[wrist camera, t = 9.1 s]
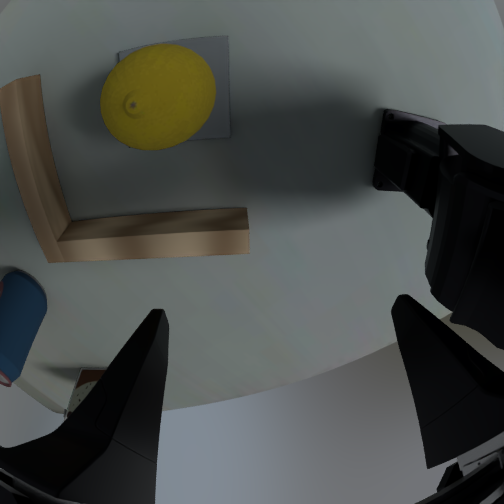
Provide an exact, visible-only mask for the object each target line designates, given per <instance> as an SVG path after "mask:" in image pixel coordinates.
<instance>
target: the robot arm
mask: <svg viewBox="0 0 504 504" xmlns="http://www.w3.org/2000/svg"><path fill="white" fill-rule="evenodd" d="M390 113H391V118H390V119H389V117H388V116H389V114H390ZM374 166H375V172H374V177H373V187H374V188H375V189H377V190H381V191H399V192H404V193H405V194H406V195H408V196H409V197H410V198H411V199H412V200H413V201H414V202H415V203H416V204H417V205H418V206H419V207H420V208H423V209H424V210H425V211H426V212H427V213H428V214H429V215H430V216H431V217H432V218H433V220H432V227H431V232H430V238H429V240H428V242H427V250H428V251H427V256H426V260H425V275H426V277H427V279H428V282H429V285H430V287H431V289H430V292H431V294H432V295H433V296H434V297H435V298H436V300H437V301H438V302H439V303H441V304H442V305H443V306H445V307H446V308H447V309H449V310H450V311H452V312H453V313H452V315H451V317H450V322H451V323H454V324H459V325H465V326H467V327H469V328H472V329H474V330H476V331H478V332H479V333H480V334H482V335H483V336H484V337H486V338H487V339H488V340H489V341H490V342H491V343H492V344H493V345H495V346H496V347H497V348H500V349H503V350H504V132H503V131H500V130H498V129H495V128H493V127H490V126H487V125H472V124H456V125H447V124H445V123H443V122H440V121H437V120H433V119H430V118H426V117H422V116H418V115H414V114H410V113H405V112H401V111H396V110H391V109H387V110H385V111H384V113H383V118H382V126H381V134H380V135H379V138H378V145H377V151H376V158H375V164H374ZM379 182H381V183H380V185H377V184H378V183H379ZM391 315H392V319H393V323H394V327H395V332H396V337H397V341H398V345H399V349H400V352H401V355H402V359H403V362H404V365H405V369H406V372H407V376H408V380H409V383H410V387H411V391H412V395H413V398H414V403H415V407H416V411H417V416H418V420H419V425H420V431H421V436H422V441H423V446H424V452H425V459H426V465H427V469H430V468H432V467H435V466H437V465H440V464H442V463H444V462H447V461H449V460H451V459H453V458H456V457H457V462H456V463H454V464H452V465H450V466H449V467H447V468H446V470H445V473H444V475H443V477H442V479H441V481H440V483H439V486H438V487H437V493H435V494H433V495H431V496H429V497H427V498H425V499H423V500H422V501H419V502H417V503H415V504H504V372H503V371H502V370H500V369H499V368H498V367H496V366H495V365H494V364H492V363H491V362H490V361H489V360H487V359H486V358H485V357H483V356H482V355H481V354H480V353H478V352H477V351H476V350H475V349H474V348H472V347H471V346H470V345H469V344H468V343H466V341H464V340H463V339H462V338H461V337H460V336H459V335H457V334H456V333H455V332H454V331H453V330H451V329H450V328H449V327H448V326H447V325H445V324H444V323H443V322H442V321H441V320H440V319H438V318H437V317H436V316H435V315H433V314H432V313H431V312H430V311H428V310H427V309H426V308H425V307H423V306H422V305H421V304H420V303H418V302H417V301H416V300H415V299H413V298H412V297H411V296H409V295H408V294H402V295H399V296H398V297H397V299H396V301H395V303H394V305H393V307H392V309H391ZM168 343H169V323H168V320H167V317H166V314H165V311H164V310H163V309H152V310H151V311H150V313H149V314H148V315H147V317H146V318H145V319H144V320H143V322H142V323H141V324H140V325H139V327H138V328H137V329H136V331H135V332H134V333H133V335H132V336H131V337H130V338H129V340H128V341H127V342H126V344H125V345H124V346H123V348H122V349H121V350H120V352H119V353H118V354H117V356H116V357H115V358H114V360H113V361H112V362H111V364H110V365H109V366H108V368H107V369H106V370H105V372H104V373H103V374H102V376H101V378H100V379H99V380H98V381H97V383H96V384H95V385H94V387H93V388H92V389H91V391H90V392H89V393H88V395H87V396H86V397H85V398H84V399H83V400H82V402H81V403H80V404H79V405H78V406H77V407H76V409H75V410H74V411H73V412H72V413H71V414H70V415H69V416H68V418H67V419H66V420H65V421H64V422H63V423H62V424H61V426H59V427H58V429H56V430H55V431H54V432H52V433H50V434H48V435H46V436H43V437H40V438H38V439H35V440H32V441H29V442H26V443H24V444H21V445H18V446H15V447H11V448H4V447H2V446H0V468H2V469H3V470H2V469H0V504H155V489H156V488H155V487H156V470H157V455H158V442H159V433H160V423H161V414H162V405H163V397H164V390H165V382H166V375H167V367H168ZM4 470H5V471H4Z"/></svg>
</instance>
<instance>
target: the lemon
mask: <svg viewBox="0 0 504 504" xmlns="http://www.w3.org/2000/svg"><path fill="white" fill-rule="evenodd" d="M215 97H216V85H215V78H214V76H213V73H212V71H211V68H210V67H209V65H208V64H207V63H206V62H205V60H204V59H203V58H202V57H201V56H199V55H198V54H197V53H195V52H194V51H192V50H191V49H188V48H185V47H183V46H180V45H176V44H156V45H151V46H146V47H143V48H141V49H139V50H137V51H134V52H132V53H130V54H129V55H128V56H126V57H125V58H124V59H122V60H121V61H120V62H119V63H118V64H117V65H116V66H115V67H114V68H113V70H112V71H111V72H110V74H109V75H108V77H107V79H106V81H105V84H104V86H103V88H102V93H101V99H100V106H101V114H102V117H103V120H104V123H105V125H106V127H107V128H108V130H109V131H110V133H111V134H112V135H113V136H114V137H115V138H116V139H118V140H119V141H120V142H122V143H124V144H126V145H128V146H129V147H132V148H136V149H140V150H161V149H165V148H169V147H173V146H175V145H177V144H179V143H182V142H184V141H186V140H187V139H189V138H190V137H191V136H193V135H194V134H195V133H196V132H197V131H199V130H200V128H201V127H202V126H203V125H204V123H205V122H206V121H207V119H208V118H209V116H210V113H211V111H212V109H213V107H214V103H215Z"/></svg>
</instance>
